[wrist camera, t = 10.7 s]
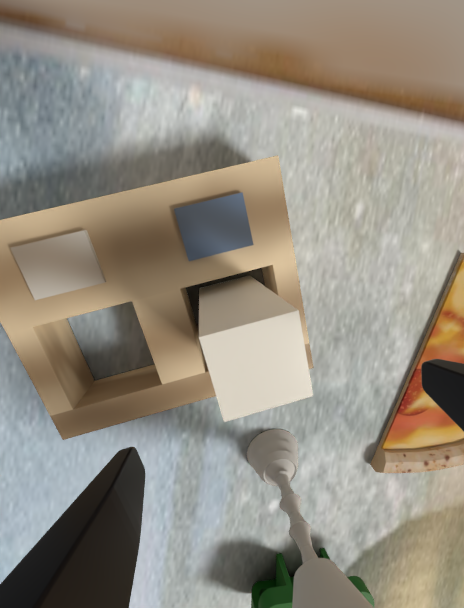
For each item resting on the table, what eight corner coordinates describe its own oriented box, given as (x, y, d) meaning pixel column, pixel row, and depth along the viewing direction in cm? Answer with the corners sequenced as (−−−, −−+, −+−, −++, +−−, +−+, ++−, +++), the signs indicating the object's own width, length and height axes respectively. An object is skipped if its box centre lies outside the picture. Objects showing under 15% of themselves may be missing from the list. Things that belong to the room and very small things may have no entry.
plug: (259, 322, 20) (313, 395, 11) (212, 335, 20) (223, 422, 11) (249, 275, 19) (298, 310, 10) (199, 288, 19) (198, 337, 9)
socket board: (295, 347, 21) (315, 369, 18) (85, 406, 20) (60, 443, 17) (263, 171, 18) (279, 153, 14) (2, 232, 16) (-53, 230, 13)
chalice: (314, 467, 25) (572, 980, 8) (250, 491, 25) (367, 1078, 7) (297, 408, 23) (595, 924, 6) (227, 434, 23) (316, 1058, 5)
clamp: (312, 513, 33) (384, 579, 25) (311, 559, 33) (383, 639, 25) (235, 560, 27) (298, 667, 19) (234, 616, 27) (297, 746, 19)
